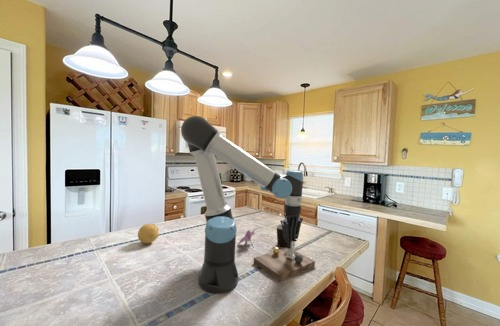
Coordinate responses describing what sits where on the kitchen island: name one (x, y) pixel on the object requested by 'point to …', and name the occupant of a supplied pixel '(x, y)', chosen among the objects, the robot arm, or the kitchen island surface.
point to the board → (283, 264)
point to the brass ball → (276, 251)
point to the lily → (247, 237)
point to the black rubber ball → (298, 259)
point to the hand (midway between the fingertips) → (289, 254)
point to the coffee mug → (280, 237)
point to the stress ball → (148, 233)
